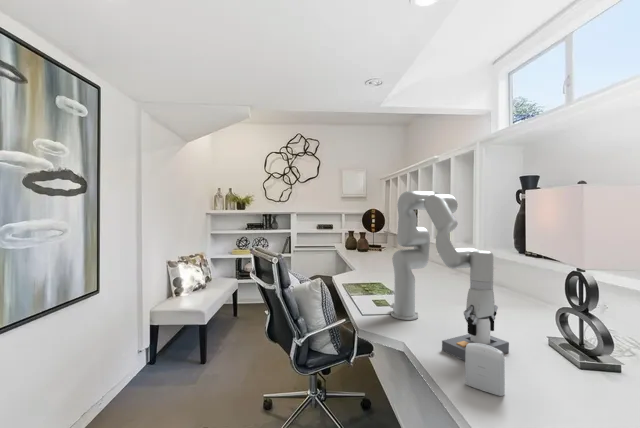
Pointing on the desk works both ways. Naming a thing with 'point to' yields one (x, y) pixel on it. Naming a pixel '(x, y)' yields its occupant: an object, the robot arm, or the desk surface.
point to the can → (482, 331)
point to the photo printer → (485, 368)
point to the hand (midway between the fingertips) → (480, 332)
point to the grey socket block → (459, 343)
